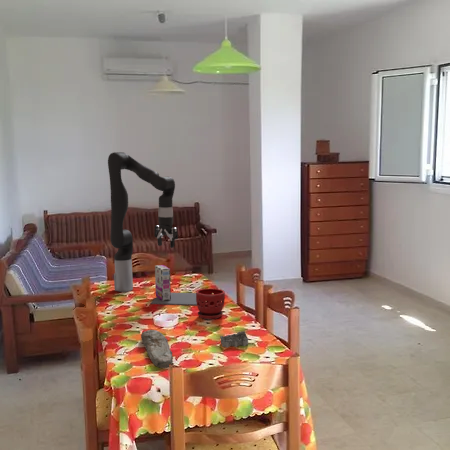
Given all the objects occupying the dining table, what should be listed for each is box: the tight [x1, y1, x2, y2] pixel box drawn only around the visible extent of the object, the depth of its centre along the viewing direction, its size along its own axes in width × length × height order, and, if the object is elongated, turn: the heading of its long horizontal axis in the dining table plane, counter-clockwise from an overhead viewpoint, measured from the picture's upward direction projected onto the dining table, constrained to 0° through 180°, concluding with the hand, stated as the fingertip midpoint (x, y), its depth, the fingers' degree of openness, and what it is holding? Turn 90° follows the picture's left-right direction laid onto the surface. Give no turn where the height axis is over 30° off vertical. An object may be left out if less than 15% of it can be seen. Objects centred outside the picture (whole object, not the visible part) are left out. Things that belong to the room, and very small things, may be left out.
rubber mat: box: [150, 291, 197, 306], centre depth 276 cm, size 24×20×1 cm
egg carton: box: [219, 330, 249, 348], centre depth 212 cm, size 11×8×4 cm
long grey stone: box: [140, 329, 174, 369], centre depth 206 cm, size 35×5×10 cm
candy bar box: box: [154, 264, 172, 301], centre depth 275 cm, size 11×5×16 cm, turn 25°
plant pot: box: [195, 288, 226, 320], centre depth 246 cm, size 13×13×12 cm
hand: (166, 246), depth 279 cm, fingers open, 8 cm apart
